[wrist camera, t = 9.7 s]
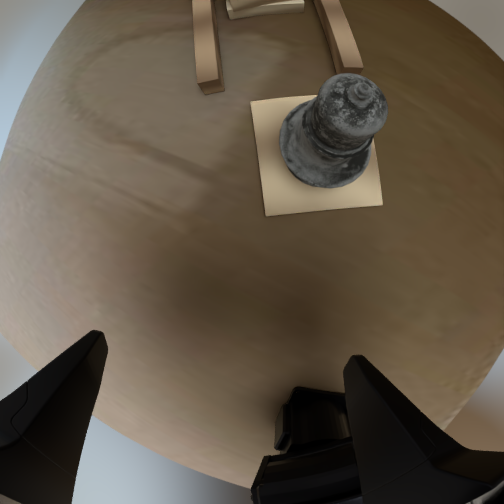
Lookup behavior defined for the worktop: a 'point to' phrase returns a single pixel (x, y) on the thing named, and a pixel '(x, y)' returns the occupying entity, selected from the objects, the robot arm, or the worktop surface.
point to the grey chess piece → (333, 131)
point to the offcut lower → (268, 9)
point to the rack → (209, 50)
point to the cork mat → (284, 182)
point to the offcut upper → (251, 3)
